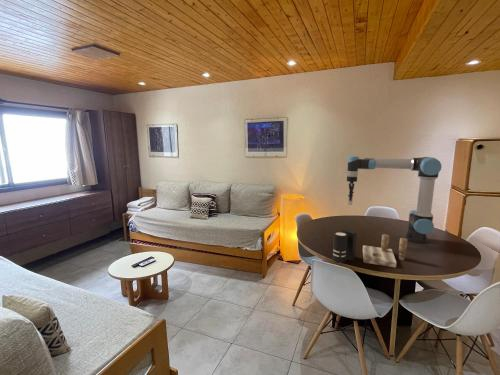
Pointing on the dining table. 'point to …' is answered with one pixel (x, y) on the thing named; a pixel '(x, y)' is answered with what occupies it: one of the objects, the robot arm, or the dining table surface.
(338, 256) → the striped black canister
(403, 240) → the oak peg
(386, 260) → the seat board
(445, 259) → the dining table surface
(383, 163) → the robot arm
